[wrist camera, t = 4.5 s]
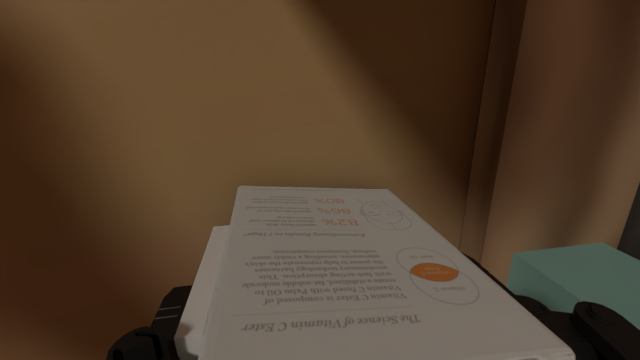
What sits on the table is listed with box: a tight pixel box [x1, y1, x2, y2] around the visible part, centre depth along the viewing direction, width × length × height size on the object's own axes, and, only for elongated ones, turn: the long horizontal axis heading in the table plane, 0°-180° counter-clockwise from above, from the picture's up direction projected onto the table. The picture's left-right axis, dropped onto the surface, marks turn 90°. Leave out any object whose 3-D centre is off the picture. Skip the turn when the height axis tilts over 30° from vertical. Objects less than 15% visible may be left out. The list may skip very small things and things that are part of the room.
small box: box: [198, 186, 576, 360], centre depth 11 cm, size 8×6×10 cm
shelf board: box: [459, 0, 640, 286], centre depth 16 cm, size 10×28×4 cm, turn 1°
